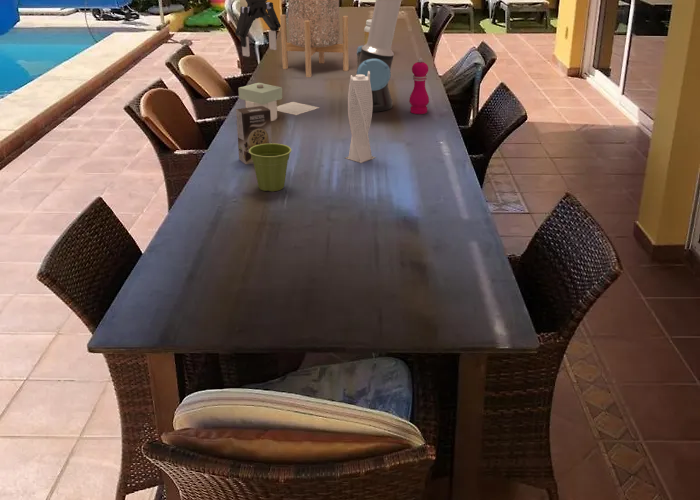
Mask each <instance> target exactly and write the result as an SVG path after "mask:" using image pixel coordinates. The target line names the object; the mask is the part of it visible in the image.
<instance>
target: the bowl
mask: <svg viewBox="0 0 700 500" xmlns="http://www.w3.org/2000/svg"><path fill="white" fill-rule="evenodd" d="M277 101H278V100H276V101H272V102H269V103H265V104H259V103H255V102H250V101H246V100H244V102H245V108H249V107H257V106H264V107H266V108H268V109H269V110H270V114H271V122H274V121H276V120H278V111H277V106H278V104H277V103H278V102H277Z"/></svg>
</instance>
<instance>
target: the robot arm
mask: <svg viewBox="0 0 700 500" xmlns="http://www.w3.org/2000/svg"><path fill="white" fill-rule="evenodd" d="M245 2H246V4H247V6H240V8H239V17H238V19H237V20H238V21H237V23H236V24H237V25H236V29H235V32H234V35H235V36H237V37H239V40H240V47H241V50H242V51H241V53H242V57H250V54H251V53H250V40H249V36H248V35H249V31H250V29H251V27H252V25H253V23H254V22H255V21H256V20H257V19H259V18H261V19H263V22H265V24H266V25H267V27H268V29H270V30H268V41H269V43H268V44H269V50H274V51H277V40H278V39H277V38H278V37H277V36H278V34H277V33H278V31H279V29H281V22H280V20H279V18H278V16H277V13H276V11H275V8H274V3H273V2H272V1H271V2H270V1H268V0H245ZM401 3H402V0H375V3H374V8H373V13H372V16H371V17H372V18H371V19H372V21H371V26H370V31H369V36H368V41H367V44H365V45H363V44H362V45H358V46H357V49H356V75H359V74H362V75H365V76H368V71H370V84H371V91H372V101H373V109H372V113H373V112H375V113H376V112H377V113H378V112H384V111H388V110H390V109H392V108H393V99H392V96H391V92H390V89H389V81H390V80H391V76H392V75H391V69H392V65H393V62H394V61H393V60H394V54H395V53H394V52H393V50H392V45H393V44H392V43H393V40H394V36H395V32H396V31H395V30H396V27H397V22H398V16H399V12H400V8H401V5H402V4H401Z"/></svg>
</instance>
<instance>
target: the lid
mask: <svg viewBox="0 0 700 500" xmlns="http://www.w3.org/2000/svg"><path fill="white" fill-rule="evenodd" d="M238 99H239V100H243V101H245V100H246V101H250V102H255V103H259V104H265V103H269V102H272V101H279V100H282V99H283V87H282V86H278V85H271V84H267V83H263V82H255V83H252V84H248V85H244V86H240V87H238Z"/></svg>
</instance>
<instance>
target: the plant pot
mask: <svg viewBox="0 0 700 500" xmlns="http://www.w3.org/2000/svg"><path fill="white" fill-rule="evenodd" d="M291 152H292V148H291V147H290V146H289V145H287V144H281V143H276V142H275V143H273V142H272V143H269V144H260V145H255V146H253V147H251V148H250V149H249V153H250V154H251V157H252V160H253V163H252V164H253V166H254V167H253V168H254V171H255V176H256V180H257V186H258V189H259V190H261V191H264V192H266V191H269V192H278V191H280V190H283V188H284V187H285V182H286V175H287V167H288V163H289V162H288V161H289V158H290V154H291Z"/></svg>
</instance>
